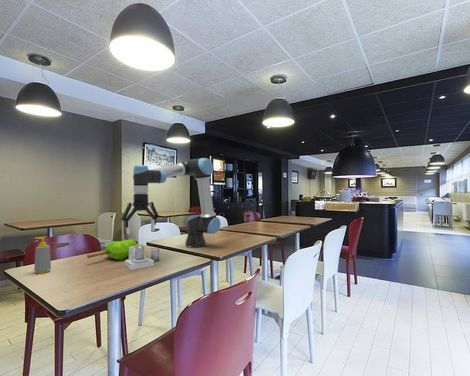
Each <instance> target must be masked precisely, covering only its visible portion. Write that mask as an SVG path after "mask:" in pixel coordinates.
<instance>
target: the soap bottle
mask: <svg viewBox="0 0 470 376" xmlns="http://www.w3.org/2000/svg"><path fill="white" fill-rule="evenodd" d="M47 237H48V236H40V237H39V236H38V237H34V238H33V239H36V240H37V239H38V240H41V241H40V243H39V244H38V246H36V247H35V251H34V252H35V255H34V256H35V257H34V268H33V269H34V270H33V271H34V272H35V274H37V275H42V274H46V273H49V272H50V270H51V269H52V262H51V246H50V245H48V244H47V242H46V241H45V240H46V239H45V238H47Z"/></svg>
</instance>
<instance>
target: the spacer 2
mask: <svg viewBox="0 0 470 376" xmlns="http://www.w3.org/2000/svg"><path fill="white" fill-rule="evenodd" d="M150 254H151V255H150V259H152V260H154V262H155V263H156V262H159V261H160V248H159V247H153V248H151V249H150Z"/></svg>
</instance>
